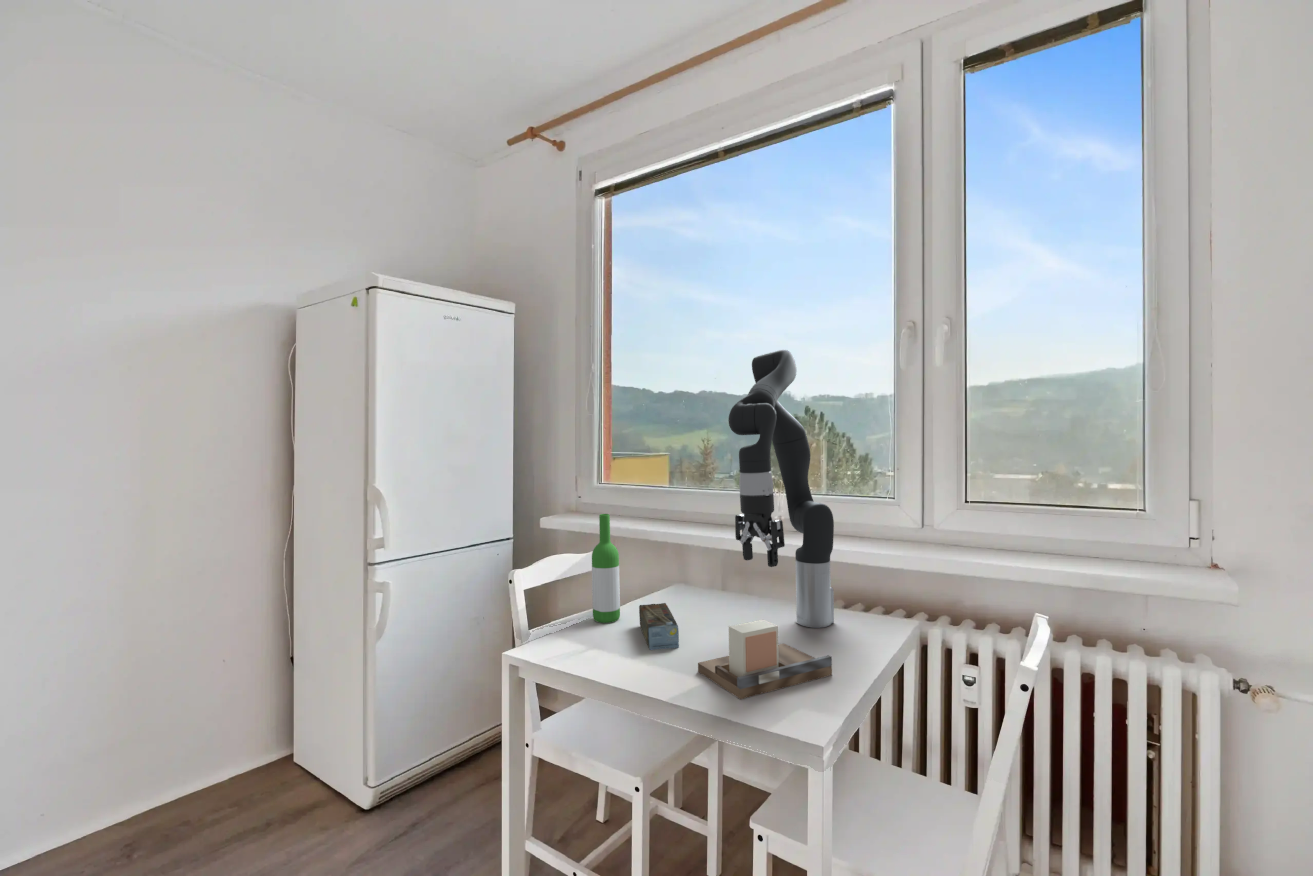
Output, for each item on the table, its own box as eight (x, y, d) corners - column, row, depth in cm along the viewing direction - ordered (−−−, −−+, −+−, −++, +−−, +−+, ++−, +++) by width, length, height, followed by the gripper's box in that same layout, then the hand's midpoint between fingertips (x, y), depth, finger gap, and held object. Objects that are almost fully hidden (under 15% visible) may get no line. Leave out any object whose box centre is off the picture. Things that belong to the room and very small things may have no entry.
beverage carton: (647, 651, 148) (647, 624, 147) (638, 626, 166) (638, 602, 166) (679, 649, 149) (679, 622, 149) (667, 625, 168) (666, 601, 168)
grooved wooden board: (783, 651, 145) (783, 635, 145) (832, 675, 130) (832, 657, 130) (698, 671, 134) (697, 653, 134) (741, 700, 119) (740, 679, 119)
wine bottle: (606, 614, 178) (604, 512, 178) (625, 618, 173) (623, 513, 173) (587, 620, 172) (584, 515, 172) (606, 625, 167) (604, 517, 167)
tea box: (729, 673, 127) (728, 626, 127) (763, 665, 131) (763, 619, 131) (744, 682, 123) (743, 633, 123) (779, 673, 127) (778, 626, 127)
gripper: (724, 491, 141) (728, 560, 142) (764, 496, 129) (768, 571, 129) (749, 488, 145) (753, 555, 145) (790, 492, 133) (794, 565, 133)
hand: (760, 563), depth 137 cm, fingers open, 8 cm apart
